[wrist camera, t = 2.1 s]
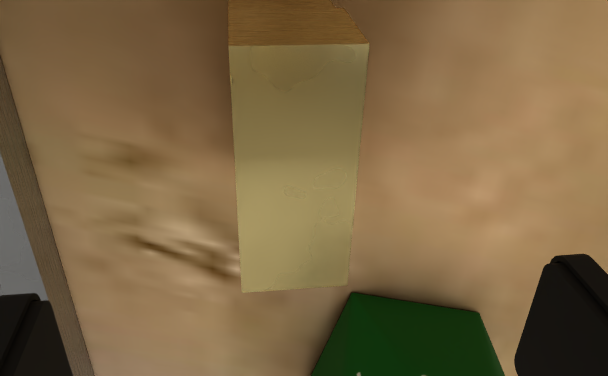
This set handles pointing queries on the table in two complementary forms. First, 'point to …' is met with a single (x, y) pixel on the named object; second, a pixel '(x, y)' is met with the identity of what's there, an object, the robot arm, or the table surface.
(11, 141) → the grey flat board
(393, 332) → the milk carton
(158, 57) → the table surface
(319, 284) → the tan wooden block
